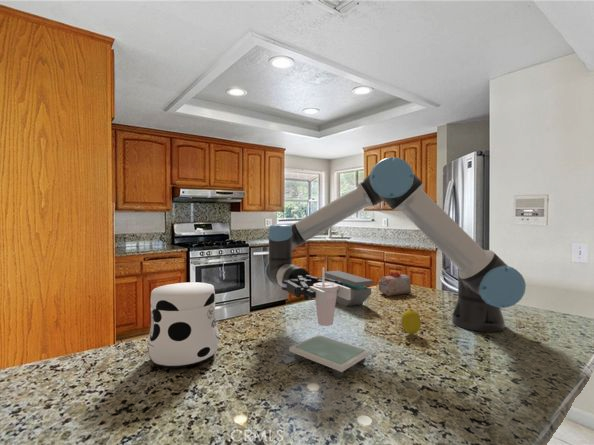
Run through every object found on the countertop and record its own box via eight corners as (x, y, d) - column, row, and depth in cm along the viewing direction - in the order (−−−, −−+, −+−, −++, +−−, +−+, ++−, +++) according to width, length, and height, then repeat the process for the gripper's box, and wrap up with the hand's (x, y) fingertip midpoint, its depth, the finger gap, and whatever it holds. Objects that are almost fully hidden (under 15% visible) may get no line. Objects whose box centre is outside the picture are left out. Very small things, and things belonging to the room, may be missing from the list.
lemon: (422, 339, 96) (422, 312, 96) (402, 338, 97) (402, 311, 97) (419, 332, 102) (419, 306, 101) (400, 331, 103) (400, 305, 103)
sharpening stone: (373, 308, 128) (373, 280, 127) (356, 311, 124) (356, 282, 124) (337, 294, 150) (337, 270, 150) (322, 296, 147) (322, 271, 146)
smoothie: (311, 319, 85) (311, 265, 85) (335, 318, 86) (335, 265, 85) (314, 328, 79) (314, 269, 78) (341, 327, 79) (341, 269, 79)
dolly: (370, 364, 81) (370, 349, 81) (341, 382, 72) (341, 366, 72) (319, 346, 92) (319, 333, 91) (289, 360, 83) (289, 346, 83)
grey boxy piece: (388, 297, 144) (388, 275, 144) (377, 293, 151) (377, 272, 151) (412, 294, 149) (412, 272, 149) (400, 290, 157) (400, 269, 156)
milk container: (232, 350, 89) (231, 284, 88) (186, 380, 73) (184, 300, 73) (183, 340, 96) (182, 279, 96) (131, 365, 81) (130, 292, 80)
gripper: (321, 287, 102) (369, 306, 82) (263, 294, 94) (300, 317, 73) (321, 263, 102) (369, 276, 82) (263, 268, 94) (300, 284, 73)
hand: (337, 296), depth 77 cm, fingers closed on smoothie, 6 cm apart
